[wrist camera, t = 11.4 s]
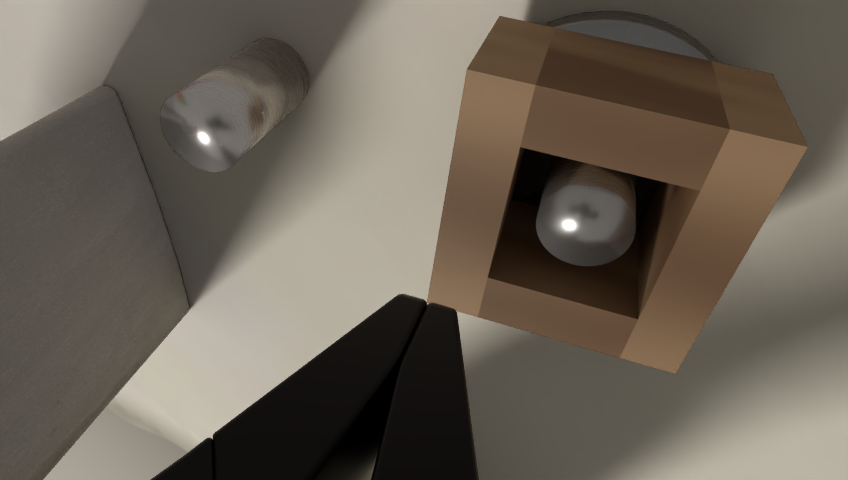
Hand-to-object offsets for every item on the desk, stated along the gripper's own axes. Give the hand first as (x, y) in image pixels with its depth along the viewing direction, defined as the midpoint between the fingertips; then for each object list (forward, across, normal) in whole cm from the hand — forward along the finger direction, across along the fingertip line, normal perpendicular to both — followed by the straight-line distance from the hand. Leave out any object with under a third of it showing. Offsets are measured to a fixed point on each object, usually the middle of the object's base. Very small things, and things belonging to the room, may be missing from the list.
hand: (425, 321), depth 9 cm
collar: (+10, -2, +2) cm, 11 cm away
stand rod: (+11, +8, +3) cm, 14 cm away
